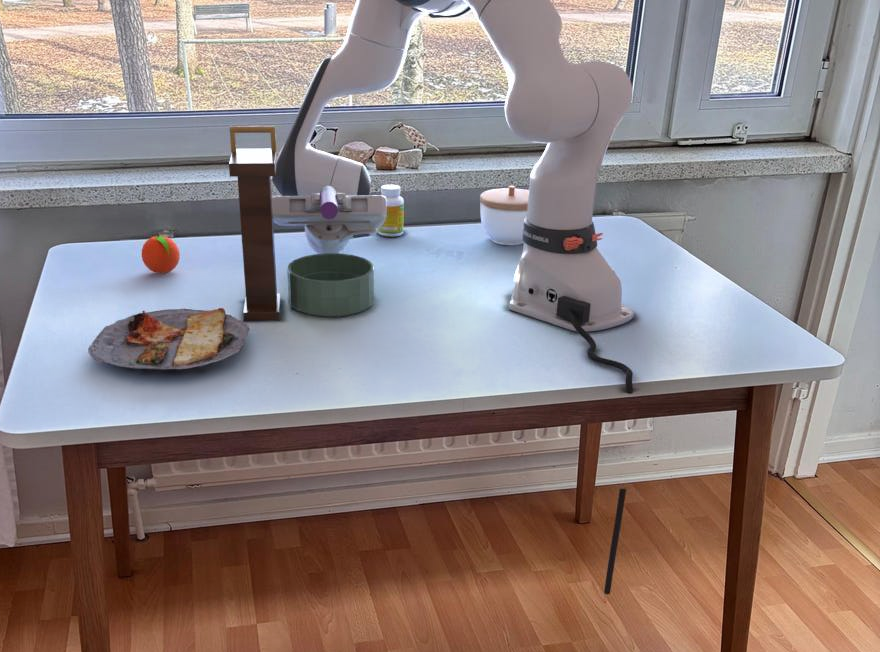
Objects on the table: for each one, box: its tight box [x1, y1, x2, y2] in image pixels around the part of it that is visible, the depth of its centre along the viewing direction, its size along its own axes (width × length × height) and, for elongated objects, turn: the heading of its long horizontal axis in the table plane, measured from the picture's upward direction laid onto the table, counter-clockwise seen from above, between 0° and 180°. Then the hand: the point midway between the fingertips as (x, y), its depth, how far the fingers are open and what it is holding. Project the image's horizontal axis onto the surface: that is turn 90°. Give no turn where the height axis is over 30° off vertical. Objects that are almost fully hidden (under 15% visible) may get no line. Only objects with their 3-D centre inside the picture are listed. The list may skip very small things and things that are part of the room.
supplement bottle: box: [377, 184, 405, 238], centre depth 208 cm, size 5×5×10 cm
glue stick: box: [320, 186, 338, 219], centre depth 166 cm, size 12×3×3 cm, turn 5°
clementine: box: [141, 234, 180, 275], centre depth 185 cm, size 8×7×7 cm
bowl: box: [286, 253, 375, 318], centre depth 173 cm, size 15×15×6 cm
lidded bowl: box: [479, 185, 529, 246], centre depth 204 cm, size 13×13×11 cm
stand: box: [228, 125, 282, 322], centre depth 163 cm, size 10×7×30 cm
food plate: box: [87, 307, 251, 371], centre depth 156 cm, size 25×23×4 cm
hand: (328, 198), depth 167 cm, fingers closed on glue stick, 3 cm apart
